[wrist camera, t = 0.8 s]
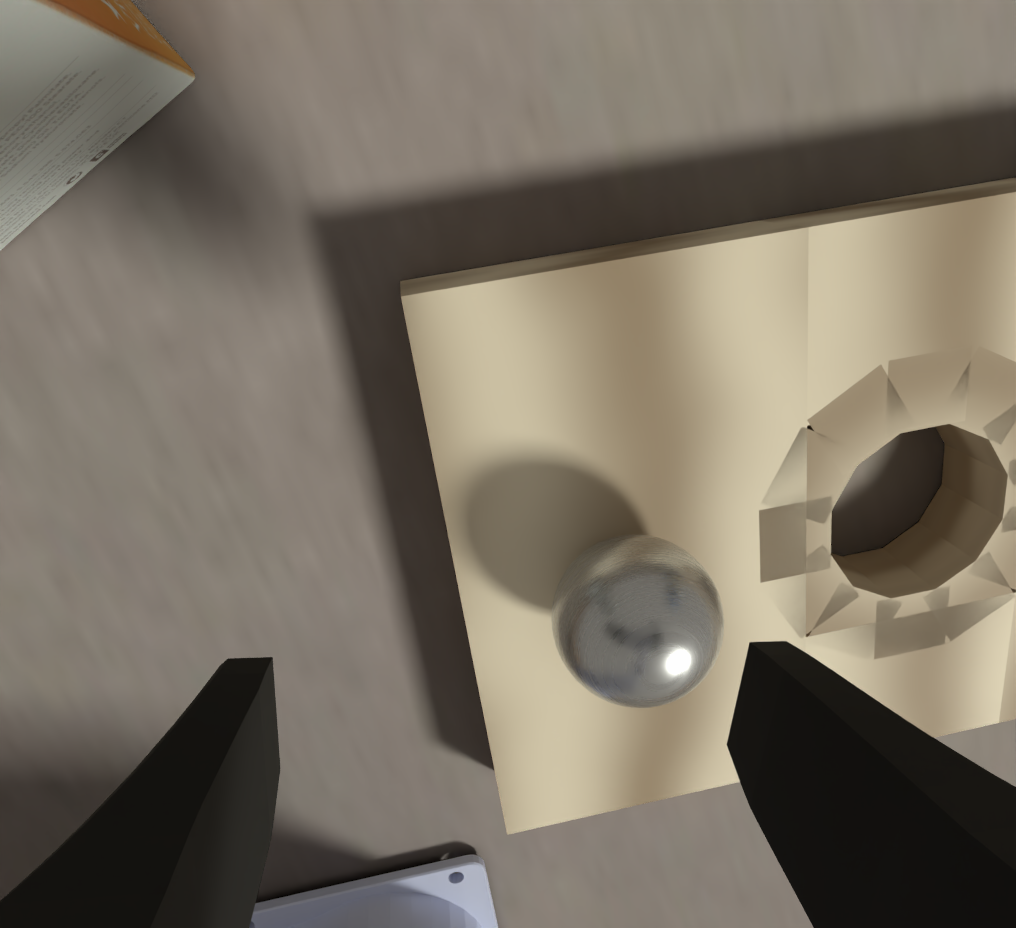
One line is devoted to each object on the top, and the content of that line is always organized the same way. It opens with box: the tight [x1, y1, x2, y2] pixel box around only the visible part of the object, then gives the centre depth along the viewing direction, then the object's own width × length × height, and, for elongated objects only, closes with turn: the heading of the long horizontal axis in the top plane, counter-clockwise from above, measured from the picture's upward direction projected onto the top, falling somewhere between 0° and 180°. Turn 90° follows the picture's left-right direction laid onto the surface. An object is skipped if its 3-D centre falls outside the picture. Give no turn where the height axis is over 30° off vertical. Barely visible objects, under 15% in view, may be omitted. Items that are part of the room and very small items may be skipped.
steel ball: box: [552, 535, 724, 708], centre depth 18 cm, size 4×4×4 cm
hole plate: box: [400, 177, 1016, 835], centre depth 21 cm, size 18×16×2 cm
